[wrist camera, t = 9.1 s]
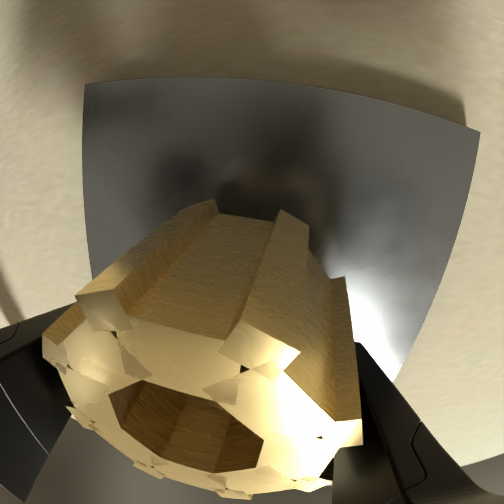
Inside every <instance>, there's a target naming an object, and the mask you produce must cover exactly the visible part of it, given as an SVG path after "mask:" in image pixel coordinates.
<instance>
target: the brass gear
mask: <svg viewBox="0 0 504 504" xmlns="http://www.w3.org/2000/svg"><path fill="white" fill-rule="evenodd" d="M308 243H309V225H307V224H305V223H304V222H302V221H300V220H299V219H297V218H295V217H294V216H292V215H290V214H289V213H287V212H286V211H284V210H282V209H280V211H279V213H278V214H277V216H276V217H275V219H274V221H273V222H271V221H265V220H259V219H253V218H246V217H240V216H234V215H227V214H221V213H219V210H218V207H217V204H216V201H215V199H211V200H208V201H204V202H200V203H197V204H193V205H189V206H186V207H185V208H184V209H182V210H181V211H179V212H178V213H177V214H175V215H174V216H173V217H171V218H170V219H169V220H167V221H166V222H165V223H163V224H162V225H161V226H159V227H158V228H157V229H156V230H154V231H153V232H152V233H150V234H149V235H148V236H146V237H145V238H144V239H143V240H141V241H140V242H139V243H137V244H136V245H135V246H134V247H132V248H131V249H130V250H129V251H127V252H126V253H125V254H124V255H122V256H121V257H120V258H119V259H117V260H116V261H115V262H114V263H113V264H111V265H110V266H109V267H108V268H106V269H105V270H104V271H103V272H102V273H100V274H99V275H98V276H97V277H96V278H94V279H93V280H92V281H91V282H90V283H89V284H87V285H86V286H85V287H84V288H83V289H82V290H80V291H79V292H78V293H77V294H76V295H75V297H76V299H77V301H76V302H75V303H74V304H73V305H72V306H71V307H70V308H69V309H68V310H67V311H65V312H64V313H63V314H62V315H61V316H60V317H59V318H58V319H57V320H56V321H55V322H54V323H53V324H52V325H51V326H49V327H48V328H47V329H46V330H45V331H44V332H43V333H42V353H43V358H44V359H46V360H47V361H48V362H49V363H51V364H52V365H53V366H54V367H56V368H57V370H58V372H59V374H60V377H61V379H62V381H63V384H64V386H65V388H66V390H67V393H68V395H69V397H70V400H69V402H68V403H67V404H66V407H67V409H68V410H69V411H70V412H71V414H72V415H73V416H74V417H75V418H76V419H77V421H78V422H79V423H80V424H81V425H82V426H83V427H84V428H86V429H90V430H94V431H95V432H96V433H98V434H99V435H100V436H101V437H103V438H104V439H105V440H106V441H108V442H109V443H110V444H112V445H113V446H114V447H115V448H117V449H118V450H119V451H121V452H122V453H124V454H125V455H126V456H128V457H129V458H131V459H132V460H133V461H135V463H134V466H135V467H137V468H139V469H141V470H143V471H145V472H147V473H149V474H151V475H153V476H155V477H157V478H159V479H162V478H163V477H167V478H170V479H173V480H176V481H180V482H183V483H186V484H190V485H193V486H196V487H200V488H204V489H208V490H212V491H215V492H217V493H218V494H219V495H220V496H221V497H226V498H235V499H236V498H237V499H248V500H251V499H252V495H253V494H257V493H266V492H274V491H281V490H288V489H293V488H295V489H299V490H303V491H306V492H311V491H313V490H315V489H318V488H320V487H323V486H325V485H327V484H329V483H331V482H333V472H334V455H335V453H336V452H337V451H338V449H339V448H341V447H350V446H357V445H363V436H362V418H361V404H360V391H359V380H358V369H357V360H356V351H355V342H354V334H353V326H352V319H351V312H350V305H349V298H348V292H347V286H346V279H345V276H343V277H337V278H332V279H330V278H329V276H328V275H327V274H326V272H325V271H324V269H323V268H322V267H321V265H320V264H319V263H318V261H317V260H316V258H315V257H314V256H313V254H312V253H311V252H310V250H309V249H308Z"/></svg>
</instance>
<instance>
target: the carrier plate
mask: <svg viewBox="0 0 504 504" xmlns="http://www.w3.org/2000/svg"><path fill="white" fill-rule="evenodd" d="M479 139H480V132H479V131H476V130H474V129H471V128H468V127H466V126H463V125H461V124H458V123H455V122H452V121H450V120H447V119H444V118H441V117H438V116H435V115H432V114H429V113H426V112H423V111H419V110H416V109H413V108H409V107H406V106H402V105H399V104H395V103H391V102H387V101H383V100H379V99H375V98H371V97H366V96H362V95H357V94H353V93H348V92H343V91H337V90H332V89H326V88H320V87H314V86H308V85H301V84H293V83H285V82H276V81H266V80H255V79H241V78H221V77H161V78H142V79H128V80H117V81H108V82H99V83H91V84H85V91H84V106H83V130H82V171H83V195H84V211H85V223H86V233H87V243H88V251H89V259H90V266H91V273H92V280H93V279H94V278H96V277H97V276H98V275H99V274H100V273H102V272H103V271H104V270H105V269H106V268H108V267H109V266H110V265H111V264H113V263H114V262H115V261H116V260H117V259H119V258H120V257H121V256H122V255H124V254H125V253H126V252H127V251H129V250H130V249H131V248H132V247H134V246H135V245H136V244H137V243H139V242H140V241H141V240H143V239H144V238H145V237H146V236H148V235H149V234H150V233H152V232H153V231H154V230H156V229H157V228H158V227H159V226H161V225H162V224H163V223H165V222H166V221H167V220H169V219H170V218H171V217H173V216H174V215H175V214H177V213H178V212H179V211H181V210H182V209H184V208H185V207H186V206H189V205H193V204H197V203H200V202H204V201H208V200H211V199H215V201H216V204H217V207H218V210H219V213H221V214H227V215H234V216H240V217H246V218H253V219H259V220H265V221H271V222H273V221H274V219H275V217H276V216H277V214H278V213H279V211H280V209H282V210H284V211H286V212H287V213H289V214H290V215H292V216H294V217H295V218H297V219H299V220H300V221H302V222H304V223H305V224H307V225H309V243H308V249H309V250H310V252H311V253H312V254H313V256H314V257H315V258H316V260H317V261H318V263H319V264H320V265H321V267H322V268H323V269H324V271H325V272H326V274H327V275H328V276H329V278H330V279H332V278H337V277H343V276H345V279H346V286H347V292H348V298H349V305H350V312H351V319H352V326H353V334H354V341H356V342H360V343H362V344H363V346H364V347H365V348H366V350H367V351H368V352H369V353H370V355H371V356H372V357H373V358H374V360H375V361H376V362H377V364H378V365H379V366H380V367H381V369H382V370H383V371H384V372H385V374H386V375H387V376H388V378H389V379H390V380H391V381H392V383H393V381H394V379H395V378H396V376H397V374H398V372H399V370H400V369H401V367H402V365H403V363H404V361H405V359H406V357H407V355H408V353H409V351H410V349H411V347H412V345H413V343H414V341H415V339H416V337H417V335H418V333H419V331H420V329H421V327H422V325H423V322H424V320H425V318H426V316H427V313H428V311H429V309H430V307H431V304H432V302H433V299H434V297H435V295H436V292H437V290H438V287H439V285H440V282H441V279H442V277H443V274H444V271H445V269H446V266H447V263H448V260H449V257H450V255H451V252H452V249H453V246H454V243H455V239H456V236H457V233H458V230H459V226H460V223H461V220H462V216H463V212H464V209H465V205H466V201H467V197H468V193H469V189H470V185H471V180H472V176H473V171H474V166H475V161H476V156H477V151H478V145H479Z"/></svg>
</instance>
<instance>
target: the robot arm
mask: <svg viewBox="0 0 504 504" xmlns="http://www.w3.org/2000/svg"><path fill="white" fill-rule="evenodd" d="M73 304H74V303H72V304H69V305H67V306H64V307H61V308H58V309H55V310H52V311H50V312H47V313H44V314H41V315H38V316H35V317H33V318H30V319H27V320H24V321H21V323H20V322H18V323H16V324H13V325H10V326H7V327H4V328H1V329H0V485H1V486H3V487H4V488H5V489H6V490H7V491H9V492H10V493H11V494H12V495H14V496H15V497H16V498H18V499H19V500H20V501H22V502H23V503H24V502H25V501H26V500H27V498H28V496H29V494H30V492H31V490H32V488H33V486H34V483H35V481H36V479H37V478H38V476H39V474H40V472H41V470H42V468H43V466H44V464H45V462H46V460H47V458H48V457H49V454H50V453H51V451H52V449H53V447H54V445H55V443H56V442H57V439H58V438H59V436H60V434H61V433H62V431H63V429H64V427H65V425H66V424H67V422H68V420H69V418H70V417H71V415H72V414H71V412H70V411H69V410H68V409H67V407H66V404H67V403H68V402H69V400H70V397H69V395H68V393H67V390H66V388H65V386H64V384H63V381H62V379H61V377H60V374H59V372H58V370H57V368H56V367H54V366H53V365H52V364H51V363H49V362H48V361H47V360H46V359H44V358H43V353H42V333H43V332H44V331H45V330H46V329H47V328H48V327H49V326H51V325H52V324H53V323H54V322H55V321H56V320H57V319H58V318H59V317H60V316H61V315H62V314H63V313H64V312H65V311H67V310H68V309H69V308H70V307H71V306H72V305H73ZM354 342H355V351H356V360H357V369H358V380H359V391H360V404H361V418H362V436H363V445H357V446H350V447H341V448H339V449H338V451H337V452H336V453H335V455H334V472H333V482H332V504H504V496H503V495H497V494H494V493H490V492H488V491H486V490H484V489H482V488H481V487H479V486H478V485H477V484H476V483H475V482H474V481H473V480H472V479H471V478H470V477H469V476H468V475H467V474H466V473H465V471H464V470H463V469H461V467H460V466H459V465H458V464H457V463H456V462H455V461H454V460H453V458H452V457H451V456H450V455H449V454H448V453H447V452H446V451H445V449H444V448H443V447H442V446H441V445H440V444H439V443H438V441H437V440H436V439H435V438H434V436H433V435H432V434H431V432H430V431H429V430H428V429H427V427H426V426H425V425H424V423H423V422H420V421H421V420H420V418H419V417H418V415H417V414H416V413H415V411H414V410H413V409H412V408H411V406H410V405H409V404H408V402H407V401H406V400H405V398H404V397H403V396H402V394H401V393H400V392H399V391H398V389H397V388H396V387H395V385H394V384H393V383H392V381H391V380H390V379H389V378H388V376H387V375H386V374H385V372H384V371H383V370H382V369H381V367H380V366H379V365H378V364H377V362H376V361H375V360H374V358H373V357H372V356H371V355H370V353H369V352H368V351H367V350H366V348H365V347H364V346H363V344H362V343H360V342H356V341H354Z"/></svg>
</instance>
